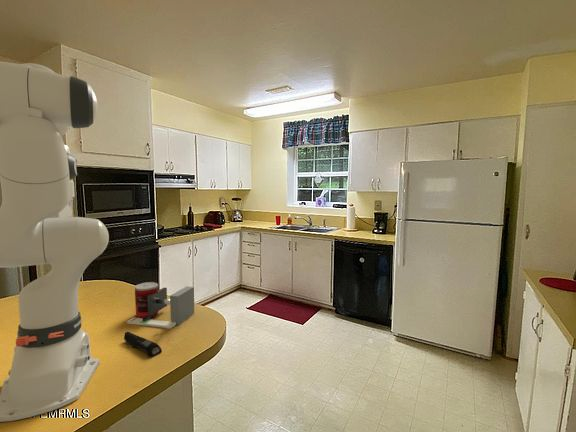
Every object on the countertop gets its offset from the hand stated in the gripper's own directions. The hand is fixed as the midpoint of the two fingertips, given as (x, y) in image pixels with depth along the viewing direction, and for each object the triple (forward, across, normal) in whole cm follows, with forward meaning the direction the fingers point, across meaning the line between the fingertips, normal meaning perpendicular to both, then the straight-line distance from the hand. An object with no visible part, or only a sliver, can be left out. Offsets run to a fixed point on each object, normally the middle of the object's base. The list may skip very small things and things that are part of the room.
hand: (60, 232), depth 100 cm
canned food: (+31, -7, -26) cm, 41 cm away
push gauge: (+31, -13, -30) cm, 45 cm away
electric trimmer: (+32, -32, -23) cm, 51 cm away
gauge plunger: (+30, -13, -30) cm, 45 cm away
